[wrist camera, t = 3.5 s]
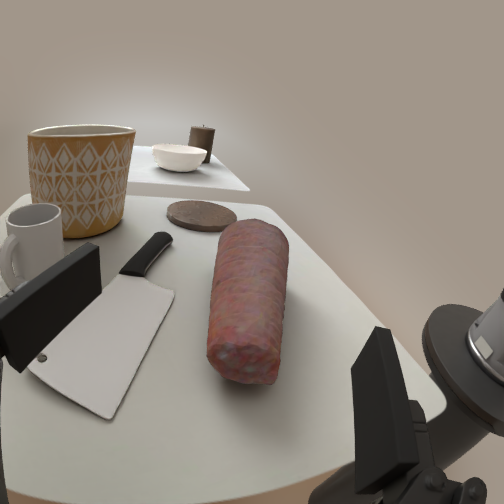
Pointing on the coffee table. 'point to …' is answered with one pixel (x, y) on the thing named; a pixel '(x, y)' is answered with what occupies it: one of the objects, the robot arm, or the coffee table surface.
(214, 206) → the cake board
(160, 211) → the coffee table surface
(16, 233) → the cup
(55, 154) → the planter
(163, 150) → the bowl
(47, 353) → the kitchen cleaver
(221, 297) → the food
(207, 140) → the pillar candle
